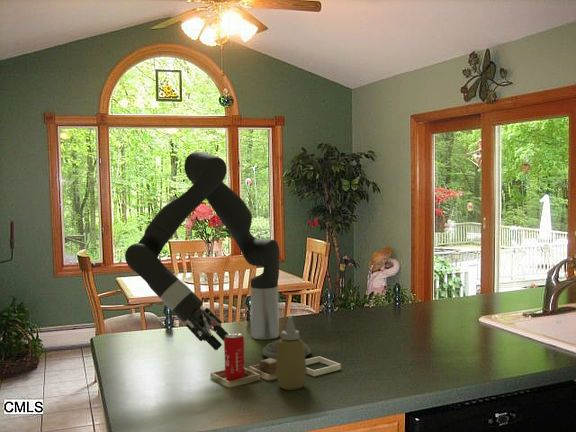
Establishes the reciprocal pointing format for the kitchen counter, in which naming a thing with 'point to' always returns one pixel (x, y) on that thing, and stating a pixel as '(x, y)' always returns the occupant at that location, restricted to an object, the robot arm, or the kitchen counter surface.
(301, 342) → the squeeze bottle
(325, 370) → the pen
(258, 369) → the square wooden frame
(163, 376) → the kitchen counter surface
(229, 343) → the beverage can
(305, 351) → the flying saucer
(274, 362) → the walnut cube
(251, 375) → the pen
